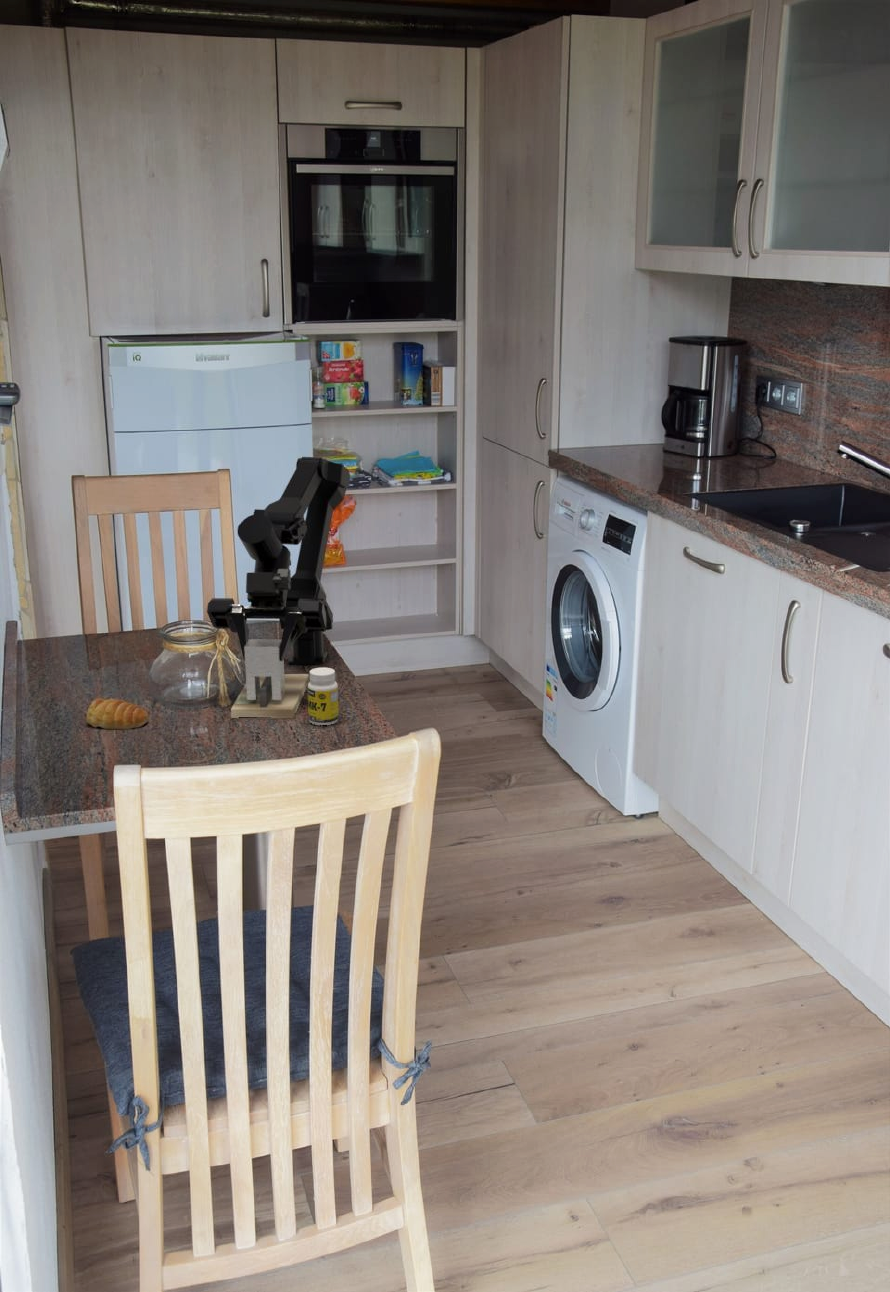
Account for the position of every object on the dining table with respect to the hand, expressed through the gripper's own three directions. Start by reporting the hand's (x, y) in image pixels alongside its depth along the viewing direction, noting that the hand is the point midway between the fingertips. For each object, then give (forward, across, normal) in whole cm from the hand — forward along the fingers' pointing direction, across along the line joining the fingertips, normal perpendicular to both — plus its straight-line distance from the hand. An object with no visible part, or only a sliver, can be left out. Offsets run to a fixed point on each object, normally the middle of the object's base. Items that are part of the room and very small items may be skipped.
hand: (262, 659), depth 190 cm
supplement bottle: (+9, +10, +4) cm, 14 cm away
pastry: (+10, -23, +3) cm, 25 cm away
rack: (+2, 0, +11) cm, 11 cm away
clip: (+4, 0, +6) cm, 7 cm away
